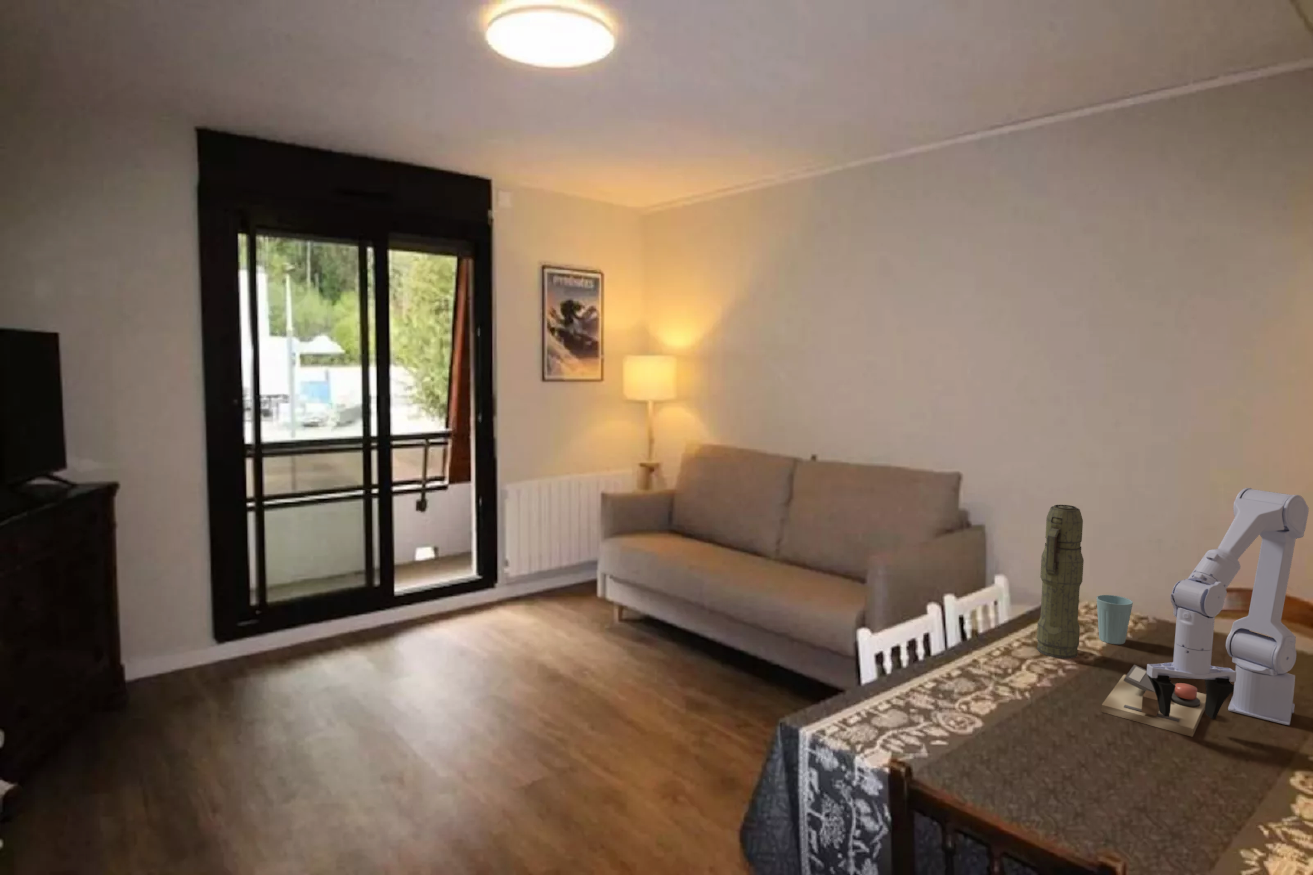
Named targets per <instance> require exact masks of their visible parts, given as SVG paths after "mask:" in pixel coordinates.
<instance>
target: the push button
mask: <svg viewBox="0 0 1313 875" xmlns="http://www.w3.org/2000/svg"><path fill="white" fill-rule="evenodd" d="M1174 684H1175V686H1176V687H1175V695H1176V696H1178V697H1181V698H1184V699H1190V700H1194V699H1196V698H1197V692H1198V688H1197V687H1196V686H1194V685H1191V684H1189V683H1182V682H1179V683H1178V682H1177V683H1174Z"/></svg>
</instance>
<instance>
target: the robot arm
mask: <svg viewBox="0 0 1313 875" xmlns="http://www.w3.org/2000/svg"><path fill="white" fill-rule="evenodd" d="M1232 509H1233V516H1234V518H1233V520H1232V522H1231V524H1230V525H1229V527H1228V529H1227V531H1226V533H1225V534H1224V536H1223V538H1222V540H1221V542H1220V543H1219V545H1218V546H1217V548H1215V549H1214V548H1213V549H1212V548H1211V549H1209V550H1207V551H1206V552H1205V554H1204V555H1203V556H1202V557H1201V560H1200V561H1199V562H1198V563H1197V565H1196V566H1195V567H1194V569H1193V571H1192V572H1191V573H1190V574H1189V576H1188V577H1187V578H1184V579H1181V580H1178V581H1177V582H1176V583H1175V584H1174V586H1173V587H1172V590H1171V593H1170V594H1169V596H1170V603H1171V605H1172V607H1173V612H1172V613H1173V617H1175V618H1176V620H1175V621H1176V622H1175V636H1174V648H1173V660H1172V662H1164V663H1147V664H1146V670H1147V674H1148V677H1149V679H1150V681H1151V683H1152V685H1153V688H1154V690H1155V693H1156V696H1157V700H1158V705H1159V712H1160V713H1162V714H1163V715H1164V716H1167V717H1169V715H1170V707H1171V698H1172V694H1173V691H1174V689H1175V687H1176V686H1175V685H1174V684H1175V683H1172V680H1171V679H1170V678H1173V679H1174V678H1176V679H1177V678H1179V679H1191V680H1192V679H1193V680H1195V679H1196V680H1204V685H1205V694H1206V704H1205V710H1204V712H1205V715H1206V716H1208V718H1210V719H1211V720H1216V719H1217V716H1218V715H1219V711H1220V710H1221V707H1222V706H1223V704H1224V703H1225V701H1226V699H1227V698H1228V697H1229V696H1230V695H1231V694H1232V693H1233V694H1232V696H1231V698H1230V699H1231V700H1230V702H1229V704H1228V707H1227V709H1228V710H1227V711H1229V712H1232V713H1233V712H1234V713H1237V714H1241V715H1244V716H1249V717H1253V718H1256V719H1261V720H1265V721H1270V722H1273V723H1278V724H1282V725H1286V726H1290V725H1291V720H1292V714H1294V713H1295V706H1296V705H1295V703H1294V694H1295V684H1296V674H1291V673H1288V672H1289V671H1291V670H1292V669H1293V667H1294V666H1295V664H1296V660H1297V649H1296V642H1297V640H1296V638H1297V636H1296V635H1295V634H1294V633H1293V632H1292V631H1291V630H1290V629H1289V628H1288V627H1287V626H1286V625H1285V624H1284V623H1283V622H1282V619H1283V612H1284V606H1285V605H1284V604H1285V600H1286V595H1287V590H1288V583H1289V578H1290V573H1291V568H1292V561H1293V557H1294V551H1295V546H1296V540H1297V539H1301V538H1304V537H1305V531H1306V528H1307V522H1308V516H1309V511H1310V510H1309V509H1310V508H1309V506H1308V504H1307V503H1306V500H1305V499H1304V497H1303V496H1301V495H1299V494H1288V493H1281V492H1275V491H1274V492H1272V491H1267V490H1260V489H1253V488H1251V487H1245V488H1242V489H1241V490H1240V491H1239V492H1238V493H1237V495H1236V497H1235V499H1234V501H1233V508H1232ZM1259 536H1260V537H1261V544H1260V548H1259V549H1260V550H1259V555H1258V560H1257V567H1256V570H1255V577H1254V583H1253V587H1252V592H1251V599H1250V603H1249V604H1250V605H1249V609H1248V610H1249V611H1248V614H1247V615H1246V616H1244V617H1241V618H1239V619H1236V620H1234V621H1233V622H1232V626H1231V628H1230V632H1229V633H1228V635H1227V637H1226V640H1225V649H1226V652H1227V654H1228V656H1229V657H1230V658H1232V660H1231V662H1232V663H1234V664H1235V669H1234V670H1233V669H1232V668H1230V667H1223V666H1217V665H1216V666H1215V665H1212V654H1213V653H1212V652H1213V641H1214V630H1215V629H1214V628H1215V619H1216V618H1215V617H1216V616H1217V615H1220V613H1221V611H1222V610H1223V609H1224V604H1225V599H1226V597H1227V593H1228V592H1227V589H1228V587H1229V586H1230V584H1231V583H1232V581H1233V580H1234V578H1235V577H1236V576H1237V574H1238V572H1239V571H1240V569H1241V564H1240V561H1239V559H1240V557H1242V555H1243V554H1244V553H1245V552H1246V550H1248V548H1250V546H1251V544H1253V542H1255V540H1257V539H1258V537H1259ZM1231 682H1232V683H1231Z"/></svg>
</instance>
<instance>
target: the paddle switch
mask: <svg viewBox="0 0 1313 875" xmlns="http://www.w3.org/2000/svg"><path fill="white" fill-rule="evenodd" d="M1125 675H1126V677H1125V678H1124V681H1125V682H1127V683H1129V684H1131V685H1133V686H1135V687H1137V688H1139V689H1141V690H1144V691H1146V690H1147V691H1151V692H1155V690H1154V688H1153V685H1152V683H1151V681H1150V679H1149V677H1148V674H1147V669H1145V668H1143V667H1140V666H1138V665H1137V664H1133V666H1132V667H1131V668H1130V670H1129V671H1128V672H1127V674H1125Z"/></svg>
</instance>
